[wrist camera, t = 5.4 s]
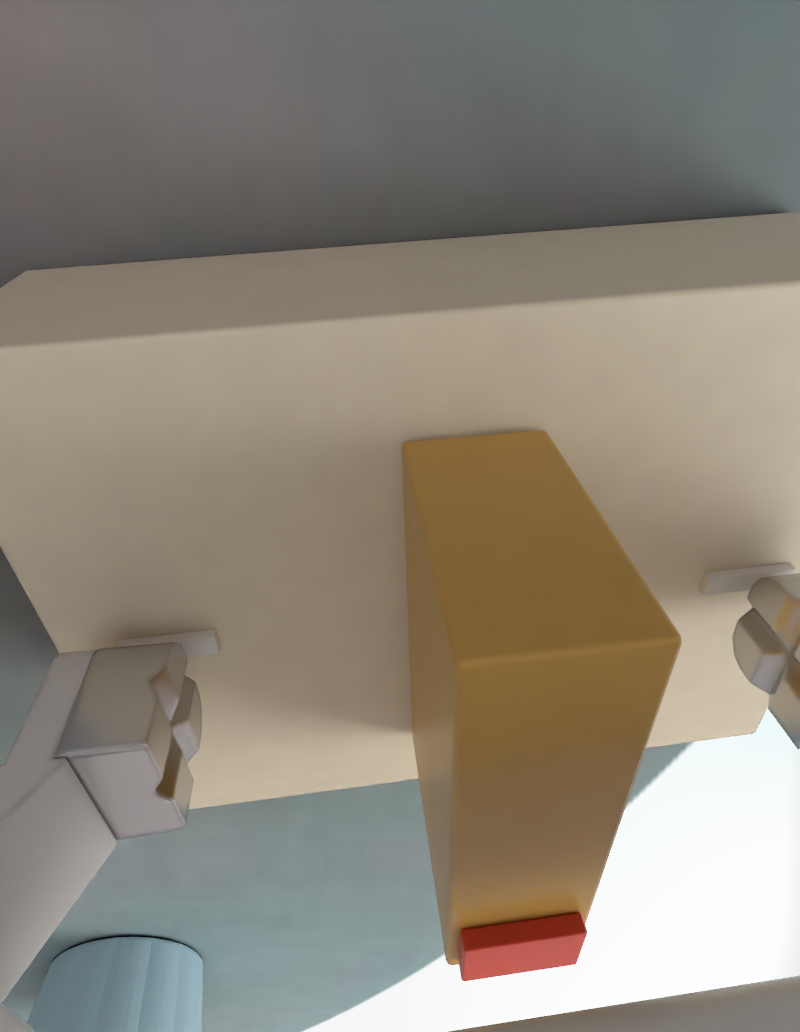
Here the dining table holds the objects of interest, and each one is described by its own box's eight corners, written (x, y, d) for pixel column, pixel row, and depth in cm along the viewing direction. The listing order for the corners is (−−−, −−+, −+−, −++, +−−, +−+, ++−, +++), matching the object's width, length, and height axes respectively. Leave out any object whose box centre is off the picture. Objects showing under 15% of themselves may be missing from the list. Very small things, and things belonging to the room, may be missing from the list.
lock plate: (794, 212, 10) (1001, 268, 7) (673, 612, 15) (761, 742, 12) (23, 269, 9) (-119, 363, 6) (180, 670, 14) (146, 824, 11)
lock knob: (401, 439, 7) (461, 691, 4) (546, 428, 7) (704, 663, 4) (412, 736, 11) (450, 988, 8) (510, 724, 11) (585, 968, 8)
